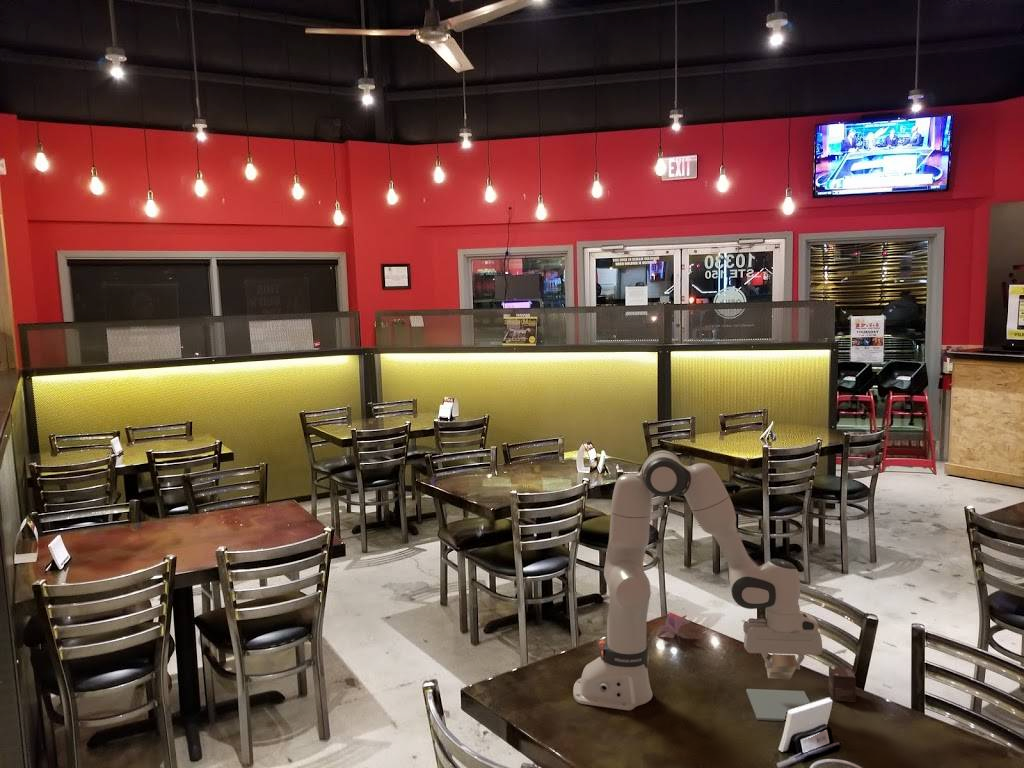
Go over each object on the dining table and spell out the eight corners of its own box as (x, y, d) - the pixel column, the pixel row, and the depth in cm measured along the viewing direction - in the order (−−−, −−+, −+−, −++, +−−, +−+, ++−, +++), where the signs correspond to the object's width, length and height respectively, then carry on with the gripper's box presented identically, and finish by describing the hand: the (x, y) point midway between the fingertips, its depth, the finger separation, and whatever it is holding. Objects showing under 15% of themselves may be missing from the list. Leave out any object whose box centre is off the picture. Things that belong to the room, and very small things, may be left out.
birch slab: (768, 678, 210) (774, 665, 203) (766, 667, 212) (772, 654, 204) (790, 679, 209) (797, 666, 202) (788, 668, 211) (795, 655, 204)
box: (855, 702, 208) (856, 677, 207) (832, 701, 209) (833, 675, 208) (850, 692, 214) (851, 667, 213) (828, 690, 215) (828, 665, 214)
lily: (696, 639, 254) (686, 611, 257) (697, 639, 243) (687, 609, 246) (662, 649, 255) (652, 621, 258) (661, 650, 244) (652, 620, 247)
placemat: (757, 719, 200) (757, 717, 200) (746, 690, 216) (746, 688, 215) (819, 722, 198) (819, 720, 198) (803, 693, 214) (804, 691, 213)
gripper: (745, 622, 203) (745, 672, 204) (824, 624, 200) (824, 674, 201) (741, 613, 209) (741, 661, 210) (817, 615, 207) (817, 663, 208)
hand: (782, 668), depth 206 cm, fingers closed on birch slab, 6 cm apart
